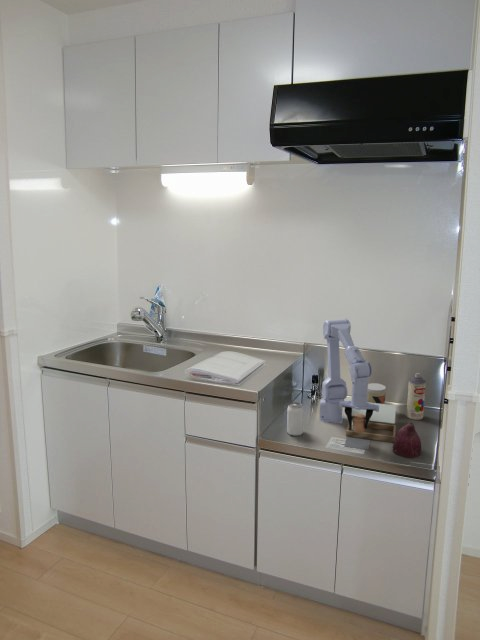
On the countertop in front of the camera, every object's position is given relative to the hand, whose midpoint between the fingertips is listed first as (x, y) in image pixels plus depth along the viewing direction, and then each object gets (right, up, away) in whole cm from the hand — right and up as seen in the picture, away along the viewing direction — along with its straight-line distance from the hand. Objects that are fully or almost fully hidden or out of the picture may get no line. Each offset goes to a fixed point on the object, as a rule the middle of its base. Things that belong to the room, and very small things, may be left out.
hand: (358, 426), depth 189 cm
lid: (+11, +2, +19) cm, 22 cm away
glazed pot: (+2, -5, +10) cm, 11 cm away
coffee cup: (+14, 0, +31) cm, 34 cm away
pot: (+1, -2, +1) cm, 2 cm away
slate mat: (0, -7, +2) cm, 7 cm away
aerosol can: (+30, -2, +25) cm, 39 cm away
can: (-23, -5, +12) cm, 26 cm away
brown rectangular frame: (+9, -4, +14) cm, 17 cm away
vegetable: (+17, -9, -5) cm, 20 cm away
